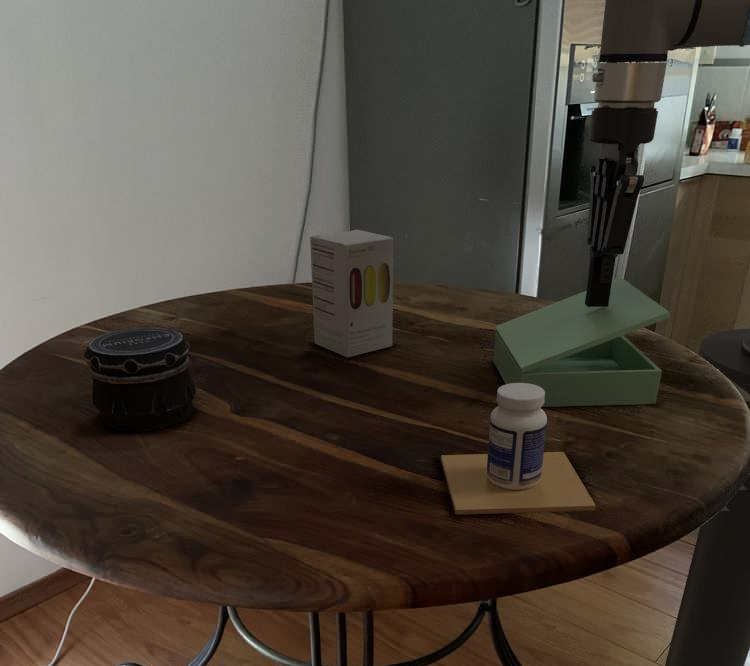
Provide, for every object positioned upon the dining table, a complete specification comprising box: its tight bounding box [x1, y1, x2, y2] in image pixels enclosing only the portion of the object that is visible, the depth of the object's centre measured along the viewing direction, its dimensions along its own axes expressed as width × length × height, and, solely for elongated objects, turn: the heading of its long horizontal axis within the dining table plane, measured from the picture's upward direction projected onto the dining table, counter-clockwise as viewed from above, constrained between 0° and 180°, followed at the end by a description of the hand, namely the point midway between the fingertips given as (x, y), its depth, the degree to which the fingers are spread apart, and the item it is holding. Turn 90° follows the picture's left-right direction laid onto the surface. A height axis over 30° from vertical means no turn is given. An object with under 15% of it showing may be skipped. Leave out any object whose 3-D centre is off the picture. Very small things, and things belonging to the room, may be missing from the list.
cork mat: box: [440, 451, 597, 516], centre depth 78 cm, size 14×12×1 cm
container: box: [83, 326, 197, 433], centre depth 92 cm, size 13×13×10 cm
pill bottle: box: [487, 383, 548, 490], centre depth 75 cm, size 6×6×10 cm
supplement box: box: [309, 229, 394, 358], centre depth 114 cm, size 10×9×17 cm
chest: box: [492, 331, 663, 408], centre depth 102 cm, size 18×18×5 cm
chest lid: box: [494, 276, 671, 373], centre depth 99 cm, size 19×18×1 cm
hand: (596, 305), depth 98 cm, fingers closed
